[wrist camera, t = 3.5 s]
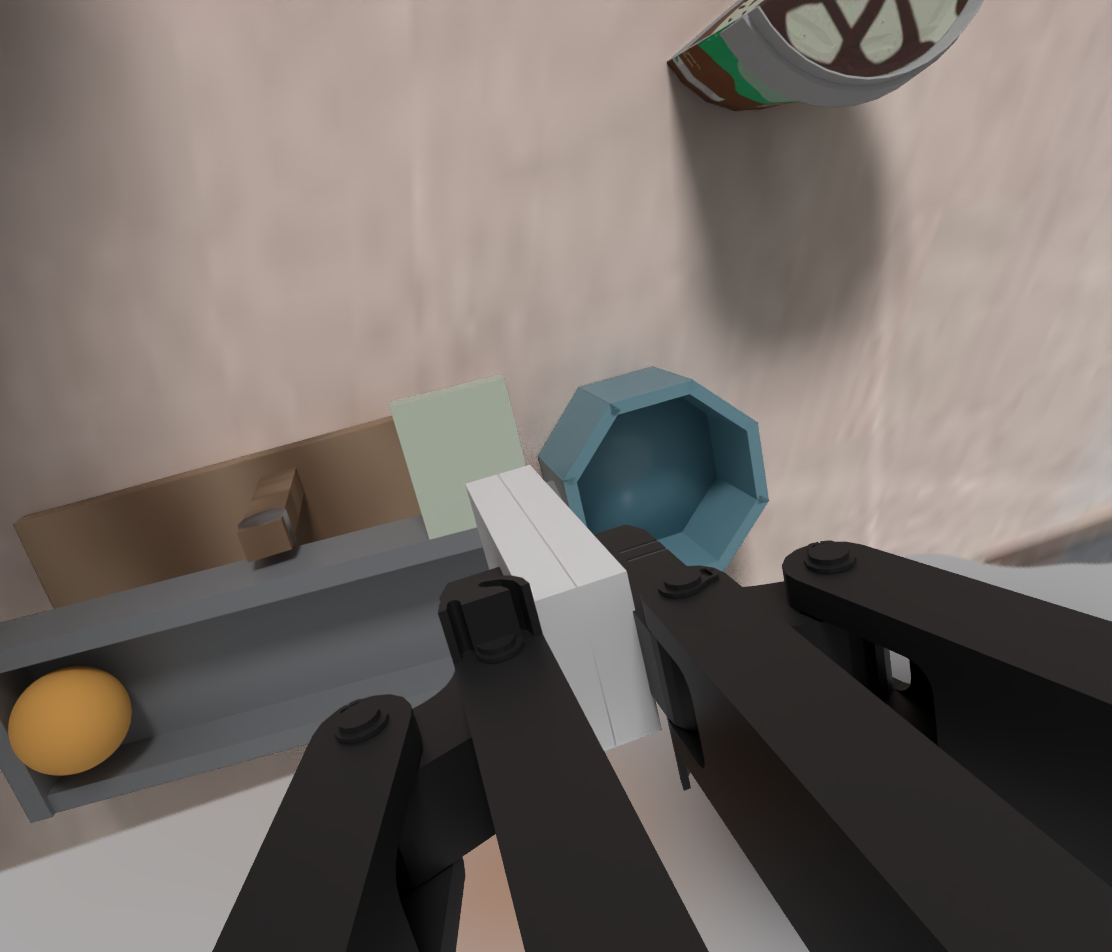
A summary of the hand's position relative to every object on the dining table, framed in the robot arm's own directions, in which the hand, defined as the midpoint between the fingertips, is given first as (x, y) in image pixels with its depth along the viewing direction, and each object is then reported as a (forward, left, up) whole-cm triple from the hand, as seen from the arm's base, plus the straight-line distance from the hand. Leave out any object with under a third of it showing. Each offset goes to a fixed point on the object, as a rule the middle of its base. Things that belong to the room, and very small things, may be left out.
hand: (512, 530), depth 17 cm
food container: (+20, +11, -21) cm, 32 cm away
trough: (-7, -4, -16) cm, 18 cm away
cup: (+9, -7, -21) cm, 24 cm away
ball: (-16, -7, -12) cm, 21 cm away
